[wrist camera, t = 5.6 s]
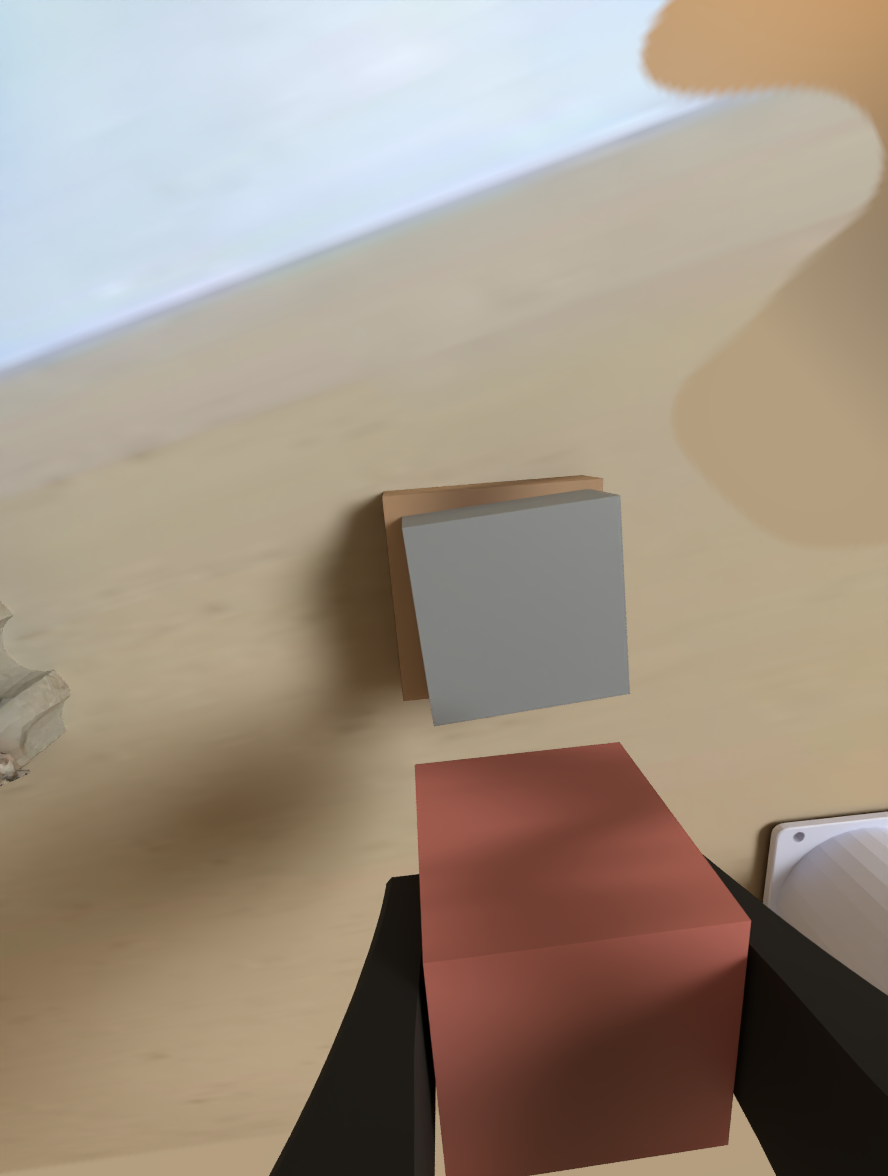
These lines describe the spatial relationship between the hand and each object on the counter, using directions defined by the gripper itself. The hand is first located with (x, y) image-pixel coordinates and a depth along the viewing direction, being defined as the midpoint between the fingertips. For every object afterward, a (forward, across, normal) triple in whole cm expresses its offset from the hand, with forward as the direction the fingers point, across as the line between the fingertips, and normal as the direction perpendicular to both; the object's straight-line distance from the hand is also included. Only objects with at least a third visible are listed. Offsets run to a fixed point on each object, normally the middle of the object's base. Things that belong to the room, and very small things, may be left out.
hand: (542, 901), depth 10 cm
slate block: (+8, -1, -4) cm, 9 cm away
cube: (+2, 0, 0) cm, 2 cm away
